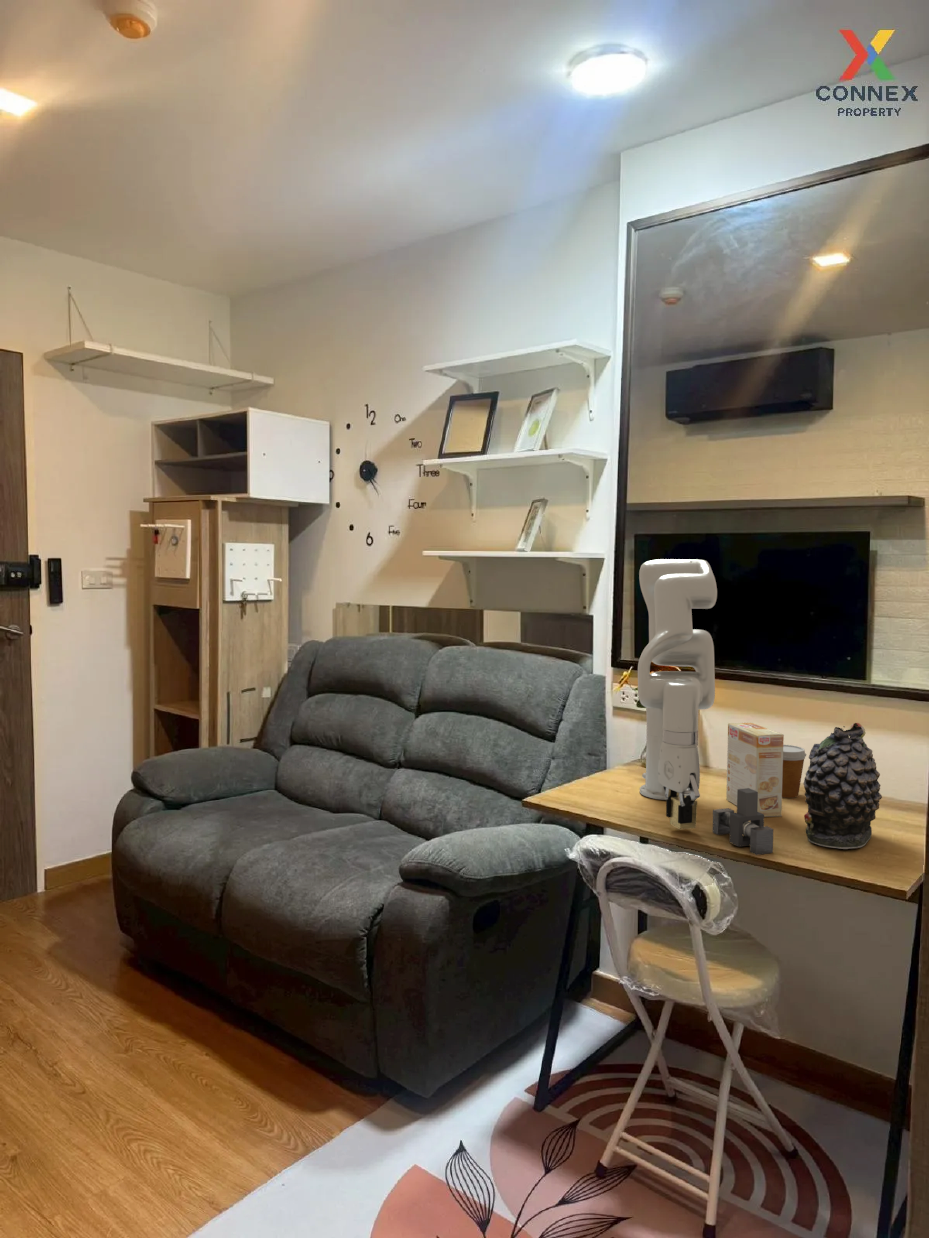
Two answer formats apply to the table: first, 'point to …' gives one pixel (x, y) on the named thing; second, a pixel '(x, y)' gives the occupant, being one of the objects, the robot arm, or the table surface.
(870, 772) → the pinecone sculpture
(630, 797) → the table surface
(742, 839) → the grey bracket
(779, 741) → the coffeecake box
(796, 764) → the disposable coffee cup
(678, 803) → the pale yellow rectangular block
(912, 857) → the table surface
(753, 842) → the grey shaft with blocks
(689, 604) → the robot arm
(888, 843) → the table surface
